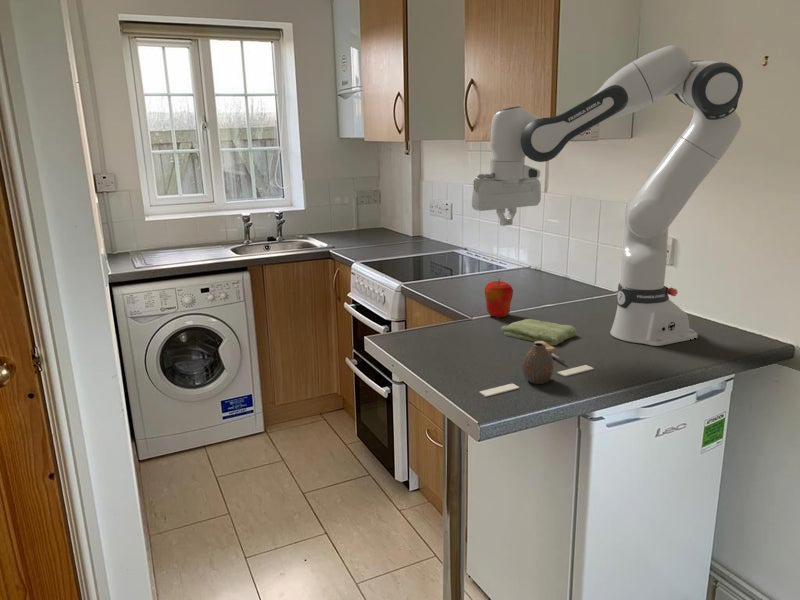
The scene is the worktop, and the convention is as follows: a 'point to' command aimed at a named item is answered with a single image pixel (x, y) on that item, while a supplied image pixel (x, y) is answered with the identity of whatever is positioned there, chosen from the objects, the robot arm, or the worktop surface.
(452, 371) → the worktop surface
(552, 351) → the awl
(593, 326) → the worktop surface
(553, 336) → the washcloth
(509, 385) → the beige flat strips
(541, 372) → the vase
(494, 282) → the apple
